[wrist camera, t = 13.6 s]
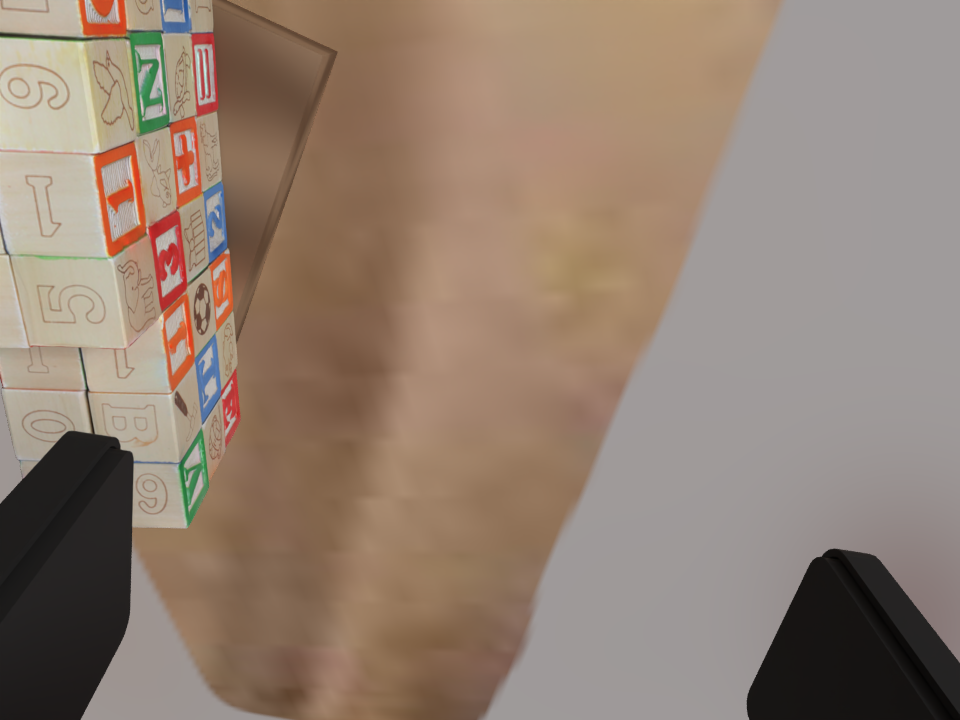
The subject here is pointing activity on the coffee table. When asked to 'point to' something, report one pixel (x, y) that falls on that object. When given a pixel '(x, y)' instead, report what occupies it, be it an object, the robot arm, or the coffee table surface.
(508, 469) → the coffee table surface
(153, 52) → the stack of blocks
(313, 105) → the walnut block
